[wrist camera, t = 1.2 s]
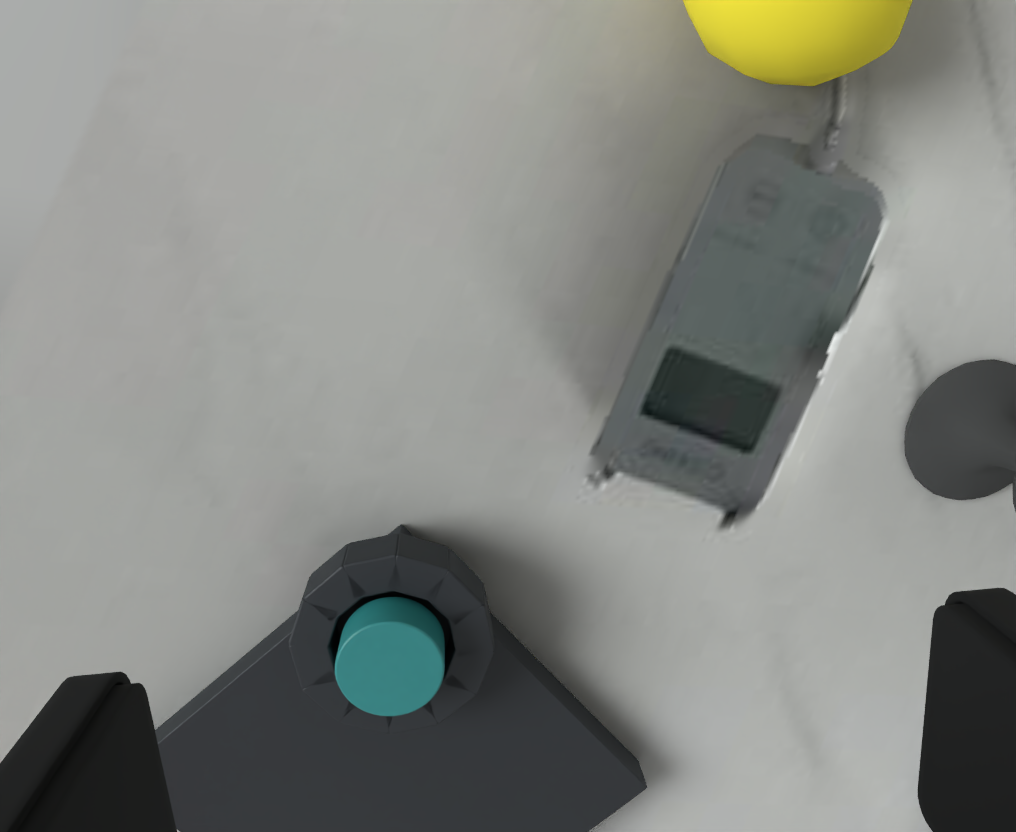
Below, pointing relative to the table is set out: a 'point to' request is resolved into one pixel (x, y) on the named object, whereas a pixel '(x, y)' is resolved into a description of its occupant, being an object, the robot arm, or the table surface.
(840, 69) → the lemon
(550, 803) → the scale
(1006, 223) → the table surface
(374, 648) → the button
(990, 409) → the sundae
